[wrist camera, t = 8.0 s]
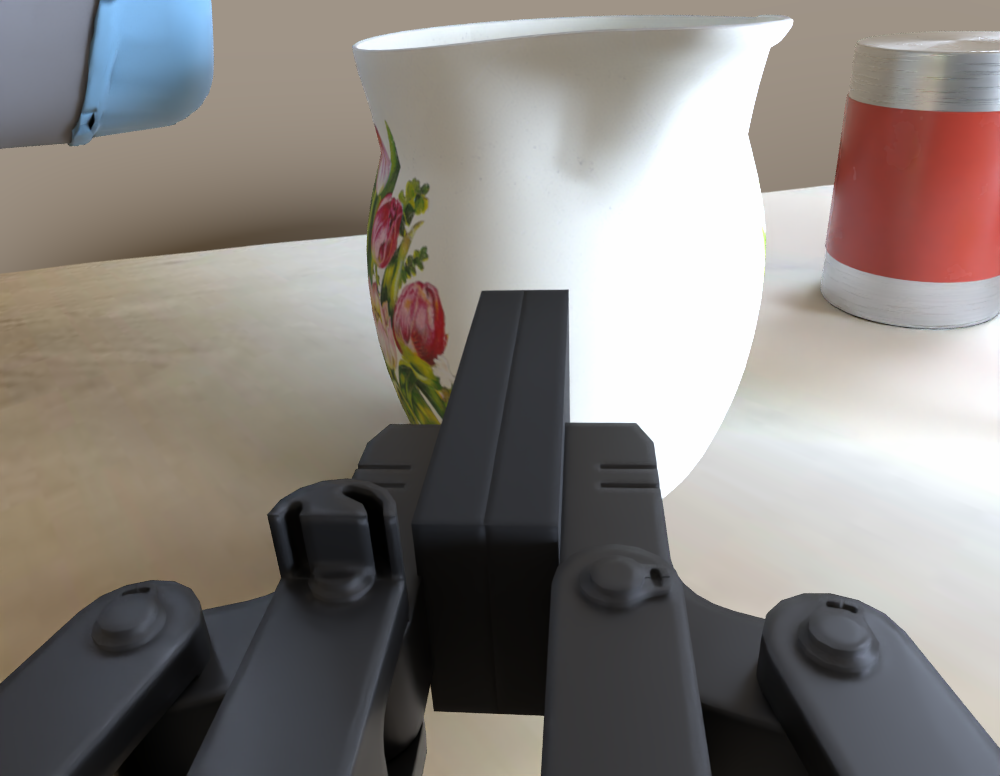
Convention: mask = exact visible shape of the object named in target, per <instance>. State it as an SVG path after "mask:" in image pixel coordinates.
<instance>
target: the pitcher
mask: <svg viewBox="0 0 1000 776" xmlns="http://www.w3.org/2000/svg"><path fill="white" fill-rule="evenodd" d="M792 24H793V20H792V19H790V18H789V17H788V16H781V15H759V16H757V17H729V16H693V15H691V16H690V15H619V16H585V17H561V18H542V19H524V20H509V21H496V22H483V23H472V24H461V25H451V26H441V27H432V28H424V29H417V30H410V31H403V32H397V33H391V34H385V35H380V36H376V37H372V38H368V39H364V40H362V41H359V42H357V43H356V44H354V45H353V46H352V48H353V54H354V59H355V63H356V67H357V70H358V73H359V76H360V79H361V82H362V85H363V89H364V92H365V95H366V98H367V101H368V104H369V107H370V111H371V114H372V118H373V122H374V125H375V128H376V132H377V137H378V140H379V145H380V149H381V156H380V161H379V165H378V170H377V175H376V179H375V184H374V188H373V193H372V199H371V206H370V213H369V220H368V229H367V230H368V231H367V266H368V282H369V290H370V297H371V304H372V312H373V316H374V321H375V326H376V330H377V335H378V339H379V343H380V347H381V350H382V353H383V356H384V360H385V363H386V366H387V370H388V372H389V375H390V377H391V380H392V382H393V385H394V387H395V390H396V392H397V395H398V397H399V399H400V402H401V404H402V406H403V409H404V411H405V413H406V415H407V417H408V419H409V421H410V423H411V424H441V423H442V420H443V417H444V413H445V410H446V407H447V403H448V400H449V397H450V394H451V390H452V387H453V384H454V380H455V377H456V374H457V370H458V367H459V364H460V360H461V357H462V354H463V351H464V347H465V344H466V341H467V337H468V334H469V331H470V327H471V324H472V321H473V317H474V314H475V311H476V307H477V304H478V301H479V298H480V294H481V291H486V290H565V289H569V367H570V422H575V423H637V424H638V425H639V426H640V428H641V429H642V430H643V431H644V432H645V433H646V434H647V435H648V436H649V437H650V439H651V440H652V441H653V442H654V446H655V453H656V460H657V469H658V474H659V481H660V488H661V495H662V498H663V497H665V496H666V495H667V494H668V493H669V492H671V491H672V490H673V489H674V488H675V487H676V486H677V485H678V484H680V483H681V482H682V481H683V480H684V478H685V477H686V476H687V475H688V474H689V473H690V471H691V470H692V469H693V468H694V466H695V465H696V464H697V462H698V461H699V460H700V458H701V457H702V456H703V454H704V452H705V451H706V449H707V447H708V446H709V444H710V442H711V440H712V439H713V437H714V435H715V434H716V432H717V430H718V428H719V426H720V425H721V423H722V421H723V419H724V416H725V414H726V412H727V410H728V408H729V406H730V404H731V402H732V400H733V398H734V395H735V393H736V390H737V387H738V385H739V382H740V380H741V377H742V374H743V372H744V369H745V366H746V362H747V358H748V355H749V351H750V348H751V344H752V341H753V337H754V333H755V329H756V323H757V318H758V313H759V308H760V303H761V298H762V289H763V281H764V272H765V253H766V232H765V217H764V209H763V203H762V197H761V191H760V185H759V179H758V175H757V172H756V167H755V163H754V159H753V154H752V150H751V146H750V142H749V138H748V130H749V125H750V120H751V116H752V111H753V107H754V103H755V99H756V95H757V91H758V87H759V83H760V79H761V76H762V72H763V69H764V66H765V63H766V59H767V56H768V53H769V49H770V47H772V46H773V45H775V44H777V43H778V42H780V41H781V40H782V39H783V37H784V36H785V35H786V33H787V32H788V31H789V29H790V28H791V27H792Z"/></svg>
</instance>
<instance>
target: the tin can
mask: <svg viewBox="0 0 1000 776" xmlns="http://www.w3.org/2000/svg"><path fill="white" fill-rule="evenodd" d="M825 247H826V254H825V261H824V267H823V274H822V281H821V293H822V295H823V297H824V298H825V299H826V300H827V301H828V302H829V303H831V304H832V305H834V306H835V307H837V308H838V309H841V310H843V311H845V312H847V313H849V314H852V315H854V316H857V317H861V318H864V319H867V320H871V321H875V322H879V323H884V324H889V325H895V326H902V327H911V328H925V329H948V328H960V327H967V326H973V325H977V324H981V323H983V322H986V321H989V320H990V319H992V318H994V317H995V316H996V315H997V314H998V313H999V312H1000V32H986V31H985V32H984V31H945V32H916V33H900V34H889V35H880V36H873V37H868V38H864V39H861V40H859V41H857V43H856V47H855V54H854V61H853V68H852V75H851V81H850V88H849V93H848V95H847V99H846V106H845V112H844V120H843V126H842V133H841V140H840V147H839V154H838V161H837V168H836V175H835V182H834V189H833V196H832V203H831V209H830V216H829V223H828V230H827V237H826V244H825Z"/></svg>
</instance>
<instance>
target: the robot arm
mask: <svg viewBox="0 0 1000 776" xmlns="http://www.w3.org/2000/svg"><path fill="white" fill-rule="evenodd" d="M213 64H214V56H213V26H212V8H211V0H0V149H2V148H14V147H27V146H40V145H52V144H65V143H67V144H68V145H69V146H79V145H85V144H87V143H88V142H90V141H91V139H92V138H93V137H99V136H106V135H112V134H118V133H126V132H131V131H139V130H145V129H152V128H158V127H165V126H170V125H174V124H176V123H177V122H179V121H181V120H183V119H185V118H186V117H188V116H189V115H190V114H191V113H193V112H194V111H196V110H197V109H198V108H199V107H200V106H201V105H202V104H203V101H204V100H205V98H206V96H207V95H208V93H209V91H210V87H211V84H212V79H213ZM267 516H268V520H269V525H270V529H271V534H272V538H273V543H274V547H275V552H276V556H277V561H278V565H279V570H280V574H281V580H280V582H279V584H278V586H277V588H276V590H275V592H273V593H271V594H269V595H266V596H263V597H259V598H256V599H252V600H249V601H244V602H240V603H235V604H230V605H225V606H220V607H215V608H211V609H206V610H202V608H201V605H200V602H199V600H198V598H197V597H196V595H195V594H194V592H193V591H192V589H190V588H188V587H186V586H184V585H182V584H179V583H177V582H175V581H159V580H150V581H145V582H140V583H135V584H130V585H126V586H123V587H121V588H119V589H117V590H114V591H112V592H110V593H107V594H105V595H103V596H101V597H99V598H98V599H96V600H95V601H94V602H92V603H91V604H89V605H88V606H86V607H85V608H84V609H82V610H81V611H79V612H78V613H77V614H76V615H75V616H74V617H73V618H72V619H71V620H70V621H68V622H67V623H66V624H65V625H64V626H63V627H62V628H61V629H60V630H59V631H57V632H56V633H55V634H54V635H53V636H52V637H51V638H50V639H49V640H48V641H47V642H45V643H44V644H43V645H42V646H41V647H40V648H39V649H38V650H37V651H36V652H34V653H33V654H32V655H31V656H30V657H29V658H28V659H27V660H26V661H25V662H23V663H22V664H21V665H20V666H19V667H18V668H17V669H16V670H15V671H14V672H12V673H11V674H10V675H9V676H8V677H7V678H6V679H5V680H4V681H3V682H2V683H0V776H422V774H423V769H424V764H425V759H426V754H427V746H426V730H425V722H424V712H425V708H426V703H427V698H428V693H429V688H430V684H431V691H432V700H433V708H434V711H441V712H466V713H490V714H515V715H540V716H544V730H543V748H542V766H541V776H1000V748H999V747H998V746H997V744H996V743H995V742H994V741H993V739H992V738H991V737H990V736H989V735H988V733H987V732H986V731H985V730H984V728H983V727H982V726H981V725H980V723H979V722H978V721H977V720H976V719H975V717H974V716H973V715H972V714H971V712H970V711H969V710H968V709H967V707H966V706H965V705H964V704H963V702H962V701H961V700H960V699H959V698H958V696H957V695H956V694H955V693H954V691H953V690H952V689H951V688H950V686H949V685H948V684H947V683H946V682H945V680H944V679H943V678H942V677H941V675H940V674H939V673H938V672H937V670H936V669H935V668H934V667H933V665H932V664H931V663H930V662H929V661H928V659H927V658H926V657H925V656H924V654H923V653H922V652H921V651H920V649H919V648H918V647H917V646H916V645H915V643H914V642H913V641H912V640H911V638H910V637H909V636H908V635H907V633H906V632H905V631H904V630H903V629H901V628H900V627H899V626H898V625H897V624H896V623H895V622H894V621H893V620H891V619H890V618H889V617H888V616H887V615H886V614H885V613H883V612H881V611H879V610H877V609H875V608H873V607H871V606H869V605H867V604H865V603H863V602H861V601H859V600H855V599H851V598H847V597H843V596H839V595H835V594H831V593H803V594H800V595H797V596H794V597H791V598H788V599H785V600H781V601H780V602H779V603H778V604H777V605H776V606H775V607H774V608H773V609H771V610H770V611H769V612H768V613H767V615H766V619H763V618H759V617H755V616H751V615H747V614H744V613H740V612H736V611H733V610H730V609H727V608H724V607H721V606H718V605H715V604H713V603H711V602H709V601H708V600H706V599H704V598H702V597H700V596H699V595H697V594H696V593H694V592H693V591H692V590H691V589H690V588H688V587H687V586H686V585H685V584H684V583H683V582H682V581H681V579H680V578H679V576H678V574H677V572H676V570H675V569H674V568H673V565H672V562H671V558H670V551H669V544H668V537H667V530H666V523H665V516H664V509H663V502H662V495H661V488H660V481H659V474H658V469H657V460H656V453H655V446H654V442H653V441H652V440H651V439H650V437H649V436H648V435H647V434H646V433H645V432H644V431H643V430H642V429H641V428H640V426H639V425H638V424H637V423H575V422H570V367H569V289H565V290H486V291H481V294H480V298H479V301H478V304H477V307H476V311H475V314H474V317H473V321H472V324H471V327H470V331H469V334H468V337H467V341H466V344H465V347H464V351H463V354H462V357H461V360H460V364H459V367H458V370H457V374H456V377H455V380H454V384H453V387H452V390H451V394H450V397H449V400H448V403H447V407H446V410H445V413H444V417H443V420H442V423H441V424H390V425H388V426H387V427H386V428H385V429H384V430H382V431H381V432H380V433H379V434H378V435H376V436H375V437H374V438H373V439H372V440H371V441H369V442H368V443H367V445H366V448H365V450H364V452H363V454H362V457H361V459H360V461H359V463H358V469H356V470H355V473H354V475H353V477H352V479H348V478H347V479H337V480H327V481H321V482H318V483H315V484H312V485H309V486H306V487H302V488H300V489H298V490H296V491H295V492H293V493H291V494H289V495H288V496H286V497H284V498H283V499H281V500H280V501H279V502H278V503H277V504H276V505H275V507H274V508H273V509H272V510H271V511H270V512H269V513H268V514H267Z"/></svg>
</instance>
